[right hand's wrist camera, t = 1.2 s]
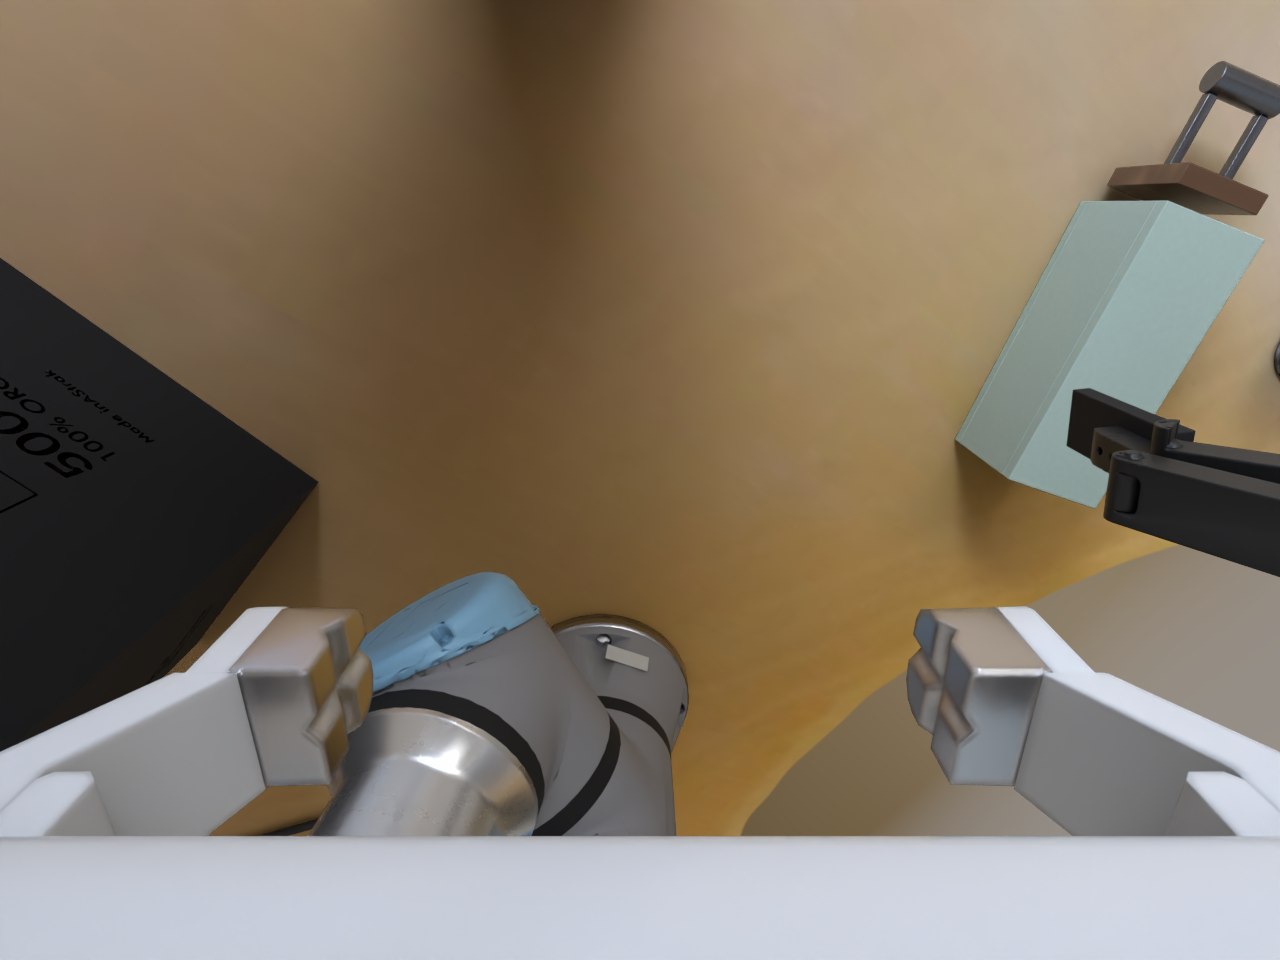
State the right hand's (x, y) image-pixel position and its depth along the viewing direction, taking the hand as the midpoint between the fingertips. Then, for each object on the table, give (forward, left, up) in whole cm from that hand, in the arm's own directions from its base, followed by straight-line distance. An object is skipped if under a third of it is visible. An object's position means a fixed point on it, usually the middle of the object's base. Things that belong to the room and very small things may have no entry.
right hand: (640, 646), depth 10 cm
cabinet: (+2, +31, -44) cm, 53 cm away
